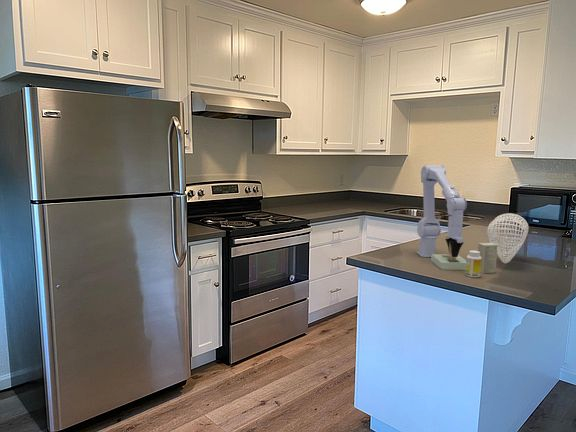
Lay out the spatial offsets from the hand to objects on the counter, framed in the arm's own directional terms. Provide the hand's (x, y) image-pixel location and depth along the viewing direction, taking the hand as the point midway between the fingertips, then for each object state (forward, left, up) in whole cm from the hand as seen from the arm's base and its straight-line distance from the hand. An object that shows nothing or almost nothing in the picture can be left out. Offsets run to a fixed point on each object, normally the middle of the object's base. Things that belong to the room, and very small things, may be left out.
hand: (453, 255), depth 187 cm
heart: (-10, +27, -5) cm, 29 cm away
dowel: (0, 0, -3) cm, 3 cm away
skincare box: (+6, +12, -5) cm, 14 cm away
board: (-4, 0, -5) cm, 7 cm away
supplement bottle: (+13, +4, -5) cm, 15 cm away
